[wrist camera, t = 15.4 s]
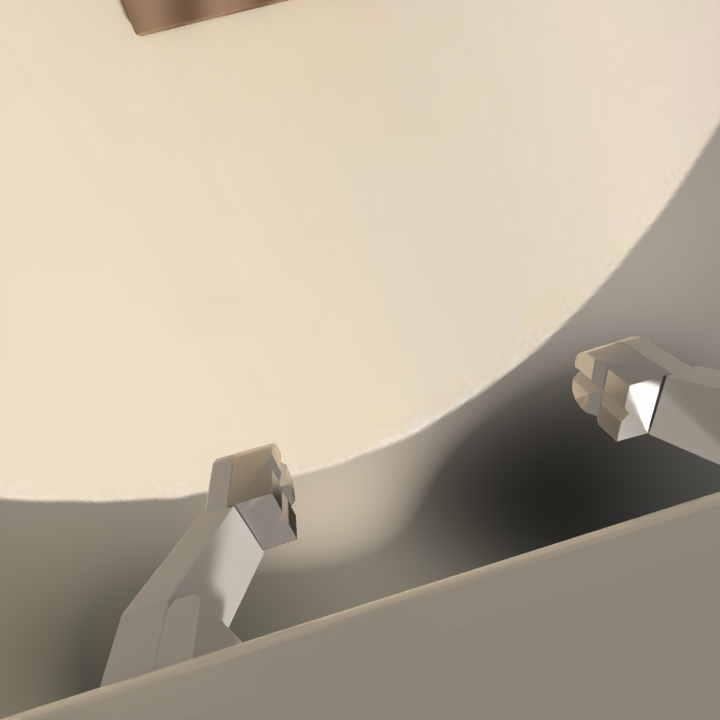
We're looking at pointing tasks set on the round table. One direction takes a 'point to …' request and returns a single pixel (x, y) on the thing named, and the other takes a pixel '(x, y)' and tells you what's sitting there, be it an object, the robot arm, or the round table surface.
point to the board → (182, 12)
